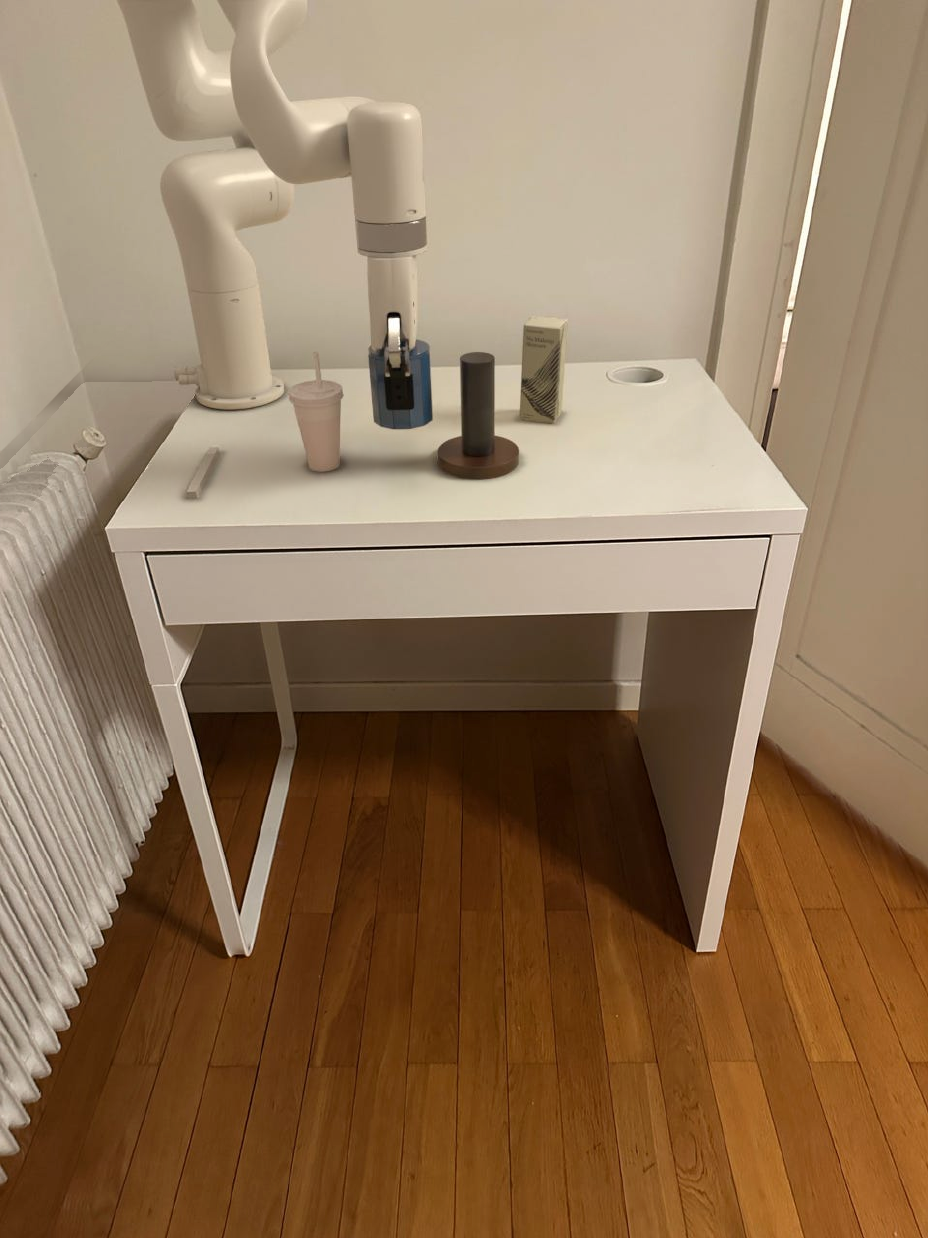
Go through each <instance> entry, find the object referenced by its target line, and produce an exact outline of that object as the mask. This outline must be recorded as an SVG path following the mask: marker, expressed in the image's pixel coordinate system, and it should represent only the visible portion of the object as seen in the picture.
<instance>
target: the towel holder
mask: <svg viewBox="0 0 928 1238" xmlns="http://www.w3.org/2000/svg"><path fill="white" fill-rule="evenodd" d="M495 364H496V361H495V356H494V355H493V354H492V353H489V352H485V351H483V352H482V351H471V352H466V353H464V354H462V355H460V356H459V373H460V374H459V382H460V424H461V427H460V430H461V433H460V434H461V435H460V436H456V437H452V438H450V439H447V440H445V441H444V442H443V443H441V444H440V445H439V446H438V448H437V465H438V468H440V469H441V471H443V472H444V473H445V474H448V475H450V476H453V477H456V478H461V479H466V480H467V479H468V480H488V479H494V478H498V477H503V476H505V475H508V474H510V473H512V472H513V471H515V469H517V468H518V466H519V464H520V449H519V446H518V445H517V443H516V442H514V441H513V440H510V439H508V438H506V437H503V436H499V435H495V434H496V433H495V429H496V427H495V426H496V425H495V421H496V419H495V418H496V416H495V411H496V410H495V408H496V407H495V406H496V405H495V404H496V403H495V402H496V401H495V398H496V397H495V394H496V393H495V391H496V390H495V388H496V387H495V385H496V384H495V377H496V376H495V375H496V374H495V373H496V371H495V369H496V365H495Z"/></svg>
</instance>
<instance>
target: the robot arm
mask: <svg viewBox="0 0 928 1238" xmlns="http://www.w3.org/2000/svg"><path fill="white" fill-rule="evenodd" d="M216 1H217V3H218V4H219V6H220V8H221V10H222V12H223V14H224V16H225V17H226V19H227V21H228V23H229V24H230V26H231V28H232V30H233V33H234V34H235V36H234V39H233V44H232V47H231V49H223V50H210V49H209V48H208V46H207V44H206V41H205V39H204V35H203V32H202V28H201V27H202V26H201V23H200V19H199V14H198V11H197V9H196V6H195V4H194V2H193V0H116V2H117V4H118V7H119V9H120V11H121V13H122V16H123V19H124V23H125V25H126V28H127V32H128V36H129V40H130V44H131V47H132V50H133V51H132V52H133V54H134V58H135V61H136V64H137V69H138V71H139V75H140V78H141V82H142V86H143V89H144V93H145V97H146V100H147V103H148V106H149V109H150V113H151V117H152V119H153V121H154V123H155V126H156V127H157V129H158V130H159V132H160V133H161V134H162V135H163V136H164V137H166V138H167V139H170V140H171V141H176V142H193V141H205V140H213V139H221V138H223V139H224V138H230V137H231V138H232V141H233V143H234V148H227V149H213V150H208V151H200V152H193V153H188V154H185V155H182V156H179V157H177V158H174V159H173V160H172V161H171V162H170V163H168V164H167V165H166V166H165V168H164V170H163V171H162V174H161V176H160V182H159V187H160V194H161V200H162V203H163V206H164V209H165V211H166V214H167V218H168V220H169V222H170V225H171V228H172V231H173V234H174V237H175V240H176V244H177V248H178V251H179V255H180V259H181V265H182V269H183V273H184V279H185V284H186V288H187V294H188V299H189V305H190V308H191V316H192V321H193V326H194V332H195V337H196V341H197V342H196V343H197V347H198V354H199V358H200V364H196V365H195V367H189V366H175V367H174V369H173V376H174V379H175V381H178V383H179V385H181V386H185V385H186V386H187V385H195V386H197V387H196V389H195V397H196V400H197V402H198V403H199V404H201V405H202V406H205V407H207V408H212V409H217V410H244V409H250V408H251V409H252V408H256V407H260V406H264V405H267V404H270V403H272V402H274V401H276V400H277V399H280V397H281V396H283V394H284V393H285V384H284V381H283V380H282V378H280V377H278V376H276V375H273V374H272V369H271V362H270V361H271V360H270V353H269V346H268V339H267V333H266V332H267V331H266V327H265V325H266V324H265V319H264V312H263V306H262V305H263V304H262V298H261V291H260V290H261V289H260V285H259V278H258V271H257V267H256V264H255V261H254V259H253V257H252V256H251V254H250V253H249V251H248V250H247V249H246V248H245V246H244V245H243V244H242V243H241V241H240V240H239V238H238V237H237V235H236V232H237V231H241V230H244V229H248V228H253V227H257V226H263V225H268V224H272V223H276V222H277V223H278V222H279V221H281V220H283V219H285V218H286V217H287V216H289V214H290V212H291V211H292V208H293V206H294V201H295V186H294V185H304V184H311V183H317V182H323V181H330V180H335V179H344V178H350V177H351V190H352V201H353V202H352V203H353V213H354V223H355V225H354V226H355V234H356V235H355V236H356V237H355V238H356V247H357V253H358V254H360V255H361V256H363V257H367V267H366V268H367V270H366V271H367V274H366V275H367V294H368V295H367V297H368V311H369V326H370V327H369V329H370V346H371V348H372V349H373V350H374V351H378V349H382V346H383V343H384V356H385V375H384V384H385V398H386V408H387V409H388V410H412V409H413V408H414V388H413V374H410V350H412V349H413V348H414V347H415V342H416V339H417V333H418V323H419V321H418V320H419V318H418V317H419V282H418V281H419V279H418V277H419V276H418V258H417V256H418V255H422V254H424V253H425V252H427V251H428V232H427V230H428V229H427V210H426V209H427V208H426V207H427V206H426V188H425V187H426V185H425V163H424V162H425V161H424V139H423V137H424V136H423V122H422V121H423V120H422V116H421V113H420V111H419V110H418V109H417V107H416V106H414V105H413V104H411V103H408V102H401V101H400V102H399V101H381V102H380V101H377V100H375V99H372V98H369V97H365V96H359V95H358V96H357V95H352V96H351V95H348V96H339V97H323V98H315V99H314V98H313V99H302V100H295V101H294V100H293V101H290V100H289V98H288V97H287V95H286V93H285V92H284V90H283V89H282V87H281V85H280V83H279V82H278V79H277V78H276V76H275V75H274V73H273V70H272V68H271V65H270V62H269V59H268V58H269V57H270V56H271V55H273V54H274V53H276V51H278V50H279V49H281V48H282V47H283V46H285V45H286V44H287V43H288V42H289V41H290V40H292V38H293V37H294V36H295V35H296V34H297V33H298V31H299V30H300V29H301V27H302V25H303V24H304V22H305V19H306V17H307V12H308V7H309V6H308V5H309V4H308V0H216ZM400 342H405V344H406V346H400ZM401 354H404V355H405V360H404V358H403V357H401Z"/></svg>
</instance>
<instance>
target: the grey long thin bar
mask: <svg viewBox="0 0 928 1238" xmlns="http://www.w3.org/2000/svg"><path fill="white" fill-rule="evenodd" d="M219 457H220V449H219V446H216V447H215V446H213V447H210V446H209V447H208V449H207V451H206V453H205V455H204V457H203V459H202V461H201V462H200V464H199V466H198V468H197V471H196V473H195V474H194V476H193V478H192V480H191V482H190V483H189V486H188V487H187V489H186V497H187V500H198V499H199V497H200V496H201V494H202V491H203V489H204V487H205V486H206V483H207V481H208V479H209V476H210V475H211V472H212V470H213V469H214V467H215V465H216V462H217V460H218V458H219Z"/></svg>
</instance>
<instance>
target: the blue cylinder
mask: <svg viewBox="0 0 928 1238" xmlns="http://www.w3.org/2000/svg"><path fill="white" fill-rule="evenodd" d="M400 346H406V344H405V342H400ZM367 351H368V356H367V357H368V369H369V380H370V392H371V393H370V395H371V405H372V416H373V423H374V424H376V425H377V426H379V427H380V428H383V429H390V430H395V431H396V430H412V429H416V428H420V427H425V426H426V425H428V424H429V423H431V422H432V421H433V420H434V408H433V407H434V406H433V387H432V385H433V384H432V363H431V362H432V361H431V348H430V344H429V343H428V342H426V341H424V340H420V339H417V338H416V342H415V347H414V348H413V349H412V350H410V374H413V388H414V408H413V409H412V410H388V409H387V408H386V398H385V384H384V375H385V356H384V343H383V346H382V349H378V351H374V350H373V349H372V348H371V345H369V347H368V349H367ZM401 357H403V358H404V360H405V355H404V354H401Z"/></svg>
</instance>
